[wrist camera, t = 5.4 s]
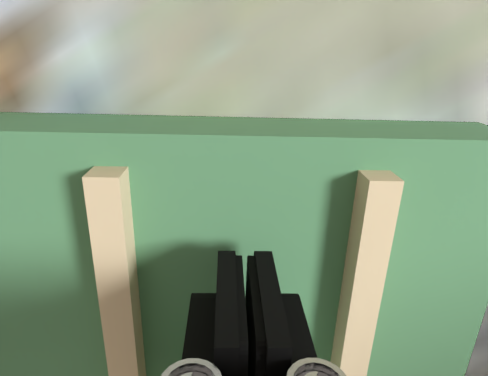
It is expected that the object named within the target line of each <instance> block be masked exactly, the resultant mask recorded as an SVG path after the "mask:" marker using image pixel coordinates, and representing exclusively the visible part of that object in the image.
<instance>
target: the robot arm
mask: <svg viewBox="0 0 488 376" xmlns="http://www.w3.org/2000/svg"><path fill="white" fill-rule="evenodd" d="M161 376H346V375H345V373H344V372H343V371H342V370H341V369H340V368H339V367H338V366H336V365H335V364H333V363H331V362H329V361H327V360H324V359H320V358H317V355H316V351H315V348H314V344H313V341H312V337H311V334H310V330H309V327H308V323H307V320H306V316H305V313H304V309H303V306H302V302H301V299H300V296H299V294H298V293H281V290H280V286H279V281H278V277H277V272H276V267H275V263H274V258H273V254H272V251H254V256H252V255H248V256H247V272H246V293H245V288H244V274H243V260H242V255H236V254H235V251H218V263H217V286H216V293H192V294H191V298H190V305H189V312H188V319H187V326H186V333H185V339H184V346H183V353H182V360H180V361H177V362H176V363H174V364H172V365H170V366H169V367H168V368H167V369H166V370H165V371H164V372H163V373H162V375H161Z"/></svg>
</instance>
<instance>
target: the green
mask: <svg viewBox="0 0 488 376" xmlns="http://www.w3.org/2000/svg"><path fill="white" fill-rule="evenodd" d="M218 251H235V254H236V255H242V260H243V274H244V288H245V293H246V272H247V256H248V255H252V256H254V251H272V254H273V258H274V263H275V267H276V272H277V277H278V281H279V286H280V290H281V293H298V294H299V296H300V299H301V302H302V306H303V309H304V313H305V316H306V320H307V323H308V327H309V330H310V334H311V337H312V341H313V344H314V348H315V351H316V355H317V358H320V359H324V360H327V361H329V362H331V363H333V364H335V365H336V366H338V367H339V368H340V369H341V370H342V371H343V372H344V373H345V375H346V376H465V373H466V370H467V367H468V364H469V361H470V357H471V354H472V351H473V348H474V345H475V342H476V339H477V336H478V332H479V329H480V326H481V323H482V320H483V317H484V314H485V311H486V307H487V304H488V125H485V124H482V123H479V122H440V121H393V120H346V119H299V118H253V117H206V116H159V115H113V114H66V113H19V112H0V376H161V375H162V373H163V372H164V371H165V370H166V369H167V368H168V367H169V366H170V365H172V364H174V363H176V362H177V361H180V360H182V353H183V346H184V339H185V333H186V326H187V319H188V312H189V305H190V298H191V294H192V293H216V286H217V263H218Z"/></svg>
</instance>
